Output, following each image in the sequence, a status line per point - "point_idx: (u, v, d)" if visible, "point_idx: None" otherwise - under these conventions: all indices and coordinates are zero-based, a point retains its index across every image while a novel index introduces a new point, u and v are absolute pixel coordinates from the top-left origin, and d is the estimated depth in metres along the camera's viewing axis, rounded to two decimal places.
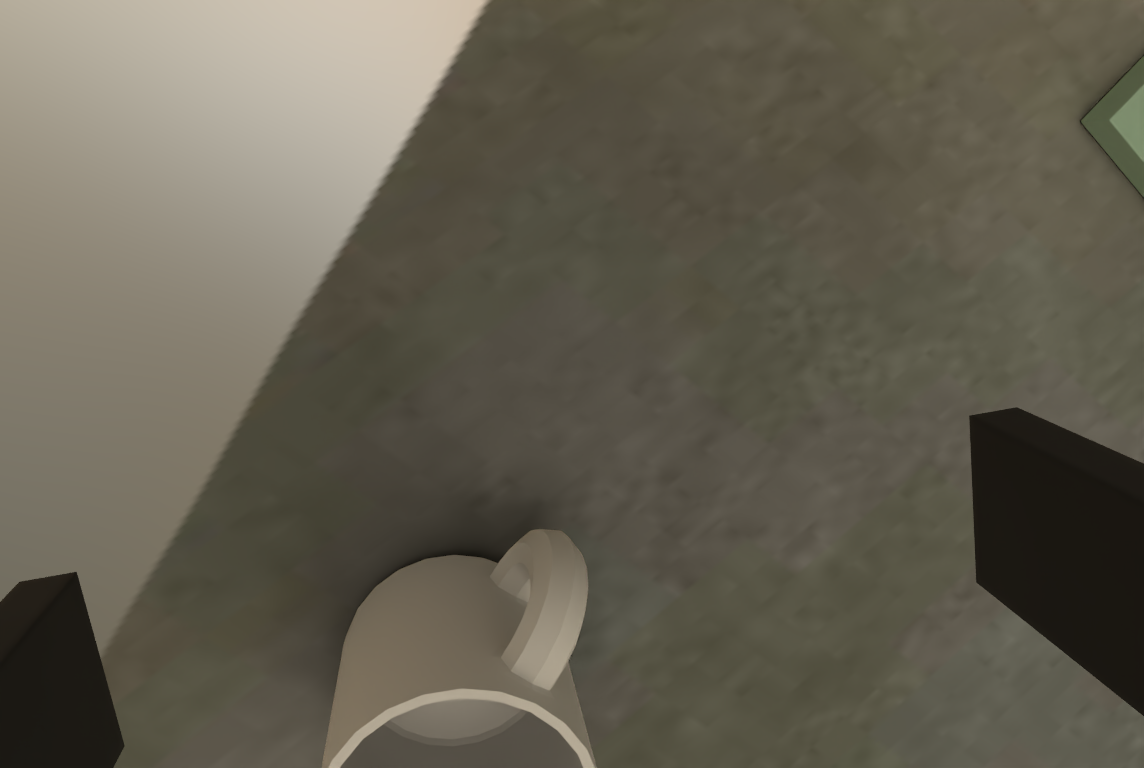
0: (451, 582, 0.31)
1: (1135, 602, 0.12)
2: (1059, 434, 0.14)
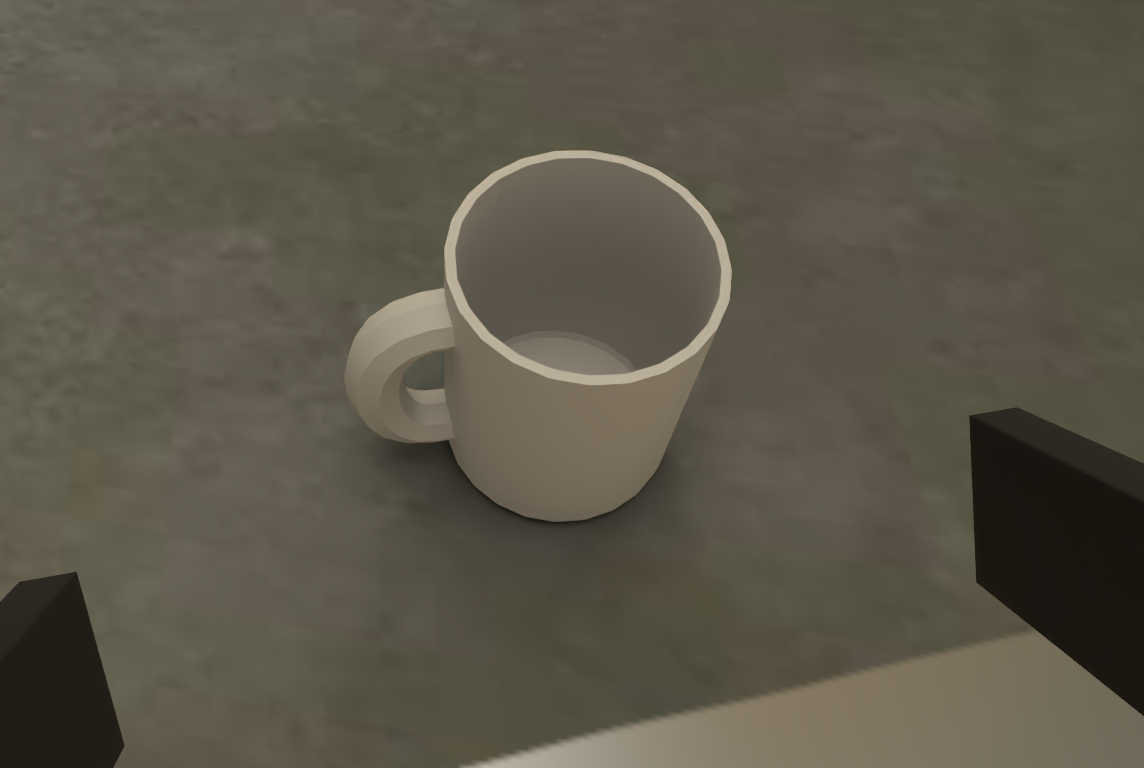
0: (478, 458, 0.29)
1: (1135, 602, 0.12)
2: (1059, 434, 0.14)
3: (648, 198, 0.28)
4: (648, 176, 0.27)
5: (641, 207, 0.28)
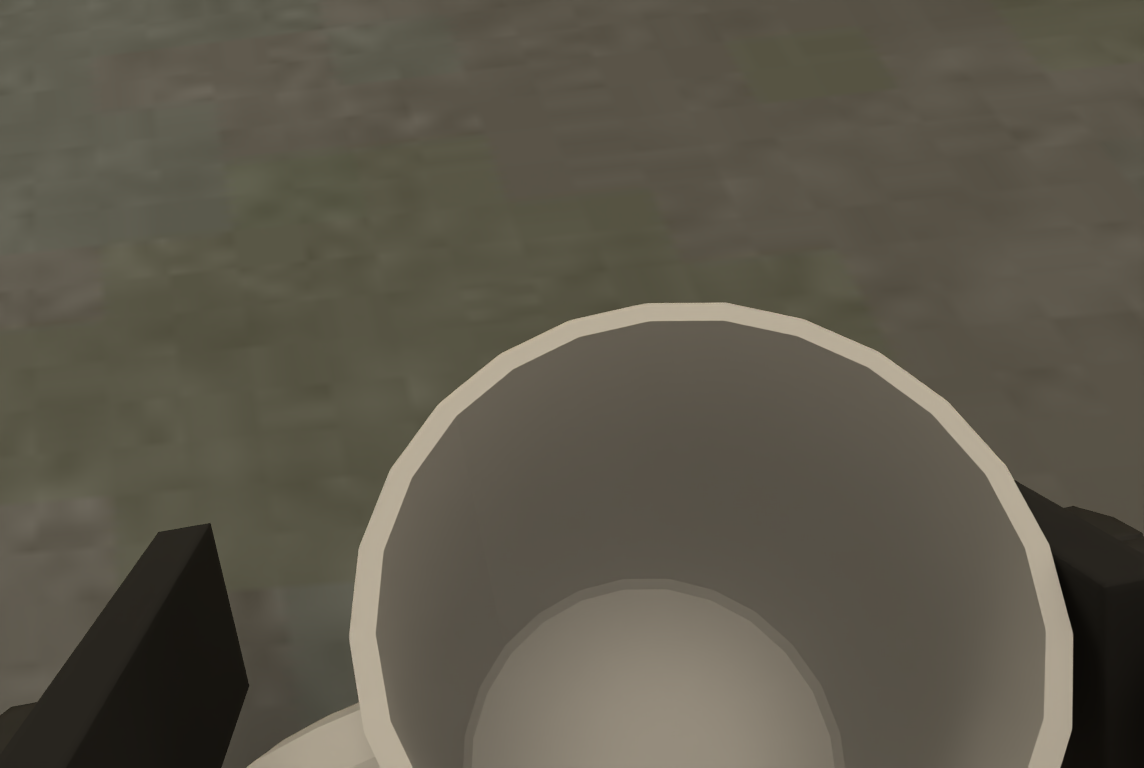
0: None
1: None
2: None
3: (789, 377, 0.13)
4: (786, 337, 0.12)
5: (771, 393, 0.13)
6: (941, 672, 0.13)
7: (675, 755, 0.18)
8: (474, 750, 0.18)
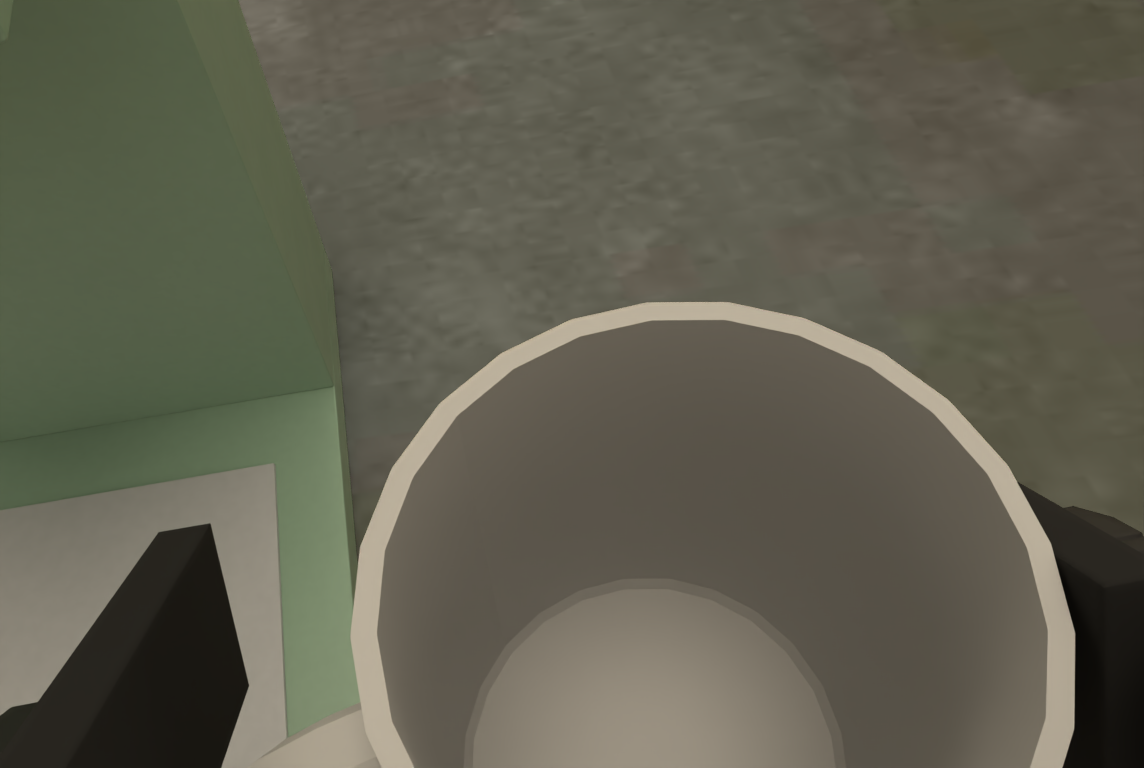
0: None
1: None
2: None
3: (790, 375, 0.13)
4: (787, 336, 0.12)
5: (773, 392, 0.13)
6: (942, 672, 0.13)
7: (675, 755, 0.18)
8: (474, 750, 0.18)
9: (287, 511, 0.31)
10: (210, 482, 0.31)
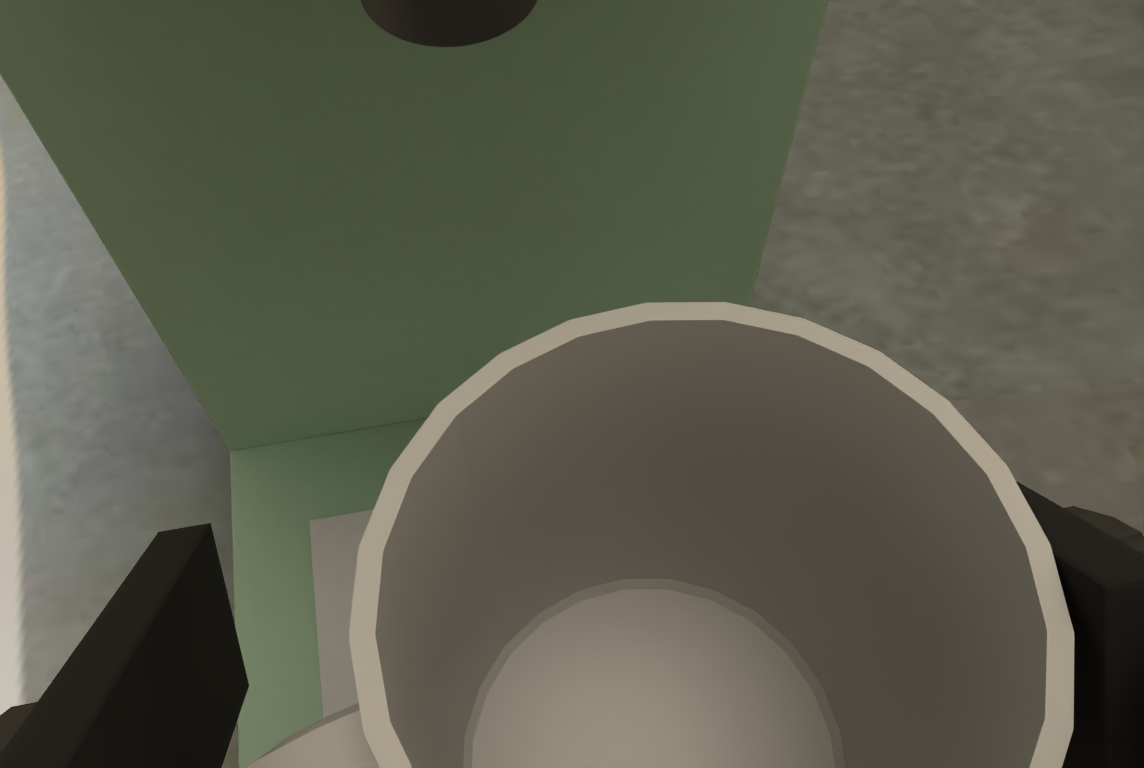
0: None
1: None
2: None
3: (789, 376, 0.13)
4: (786, 336, 0.12)
5: (772, 392, 0.13)
6: (942, 672, 0.13)
7: (675, 755, 0.18)
8: (473, 750, 0.18)
9: None
10: None
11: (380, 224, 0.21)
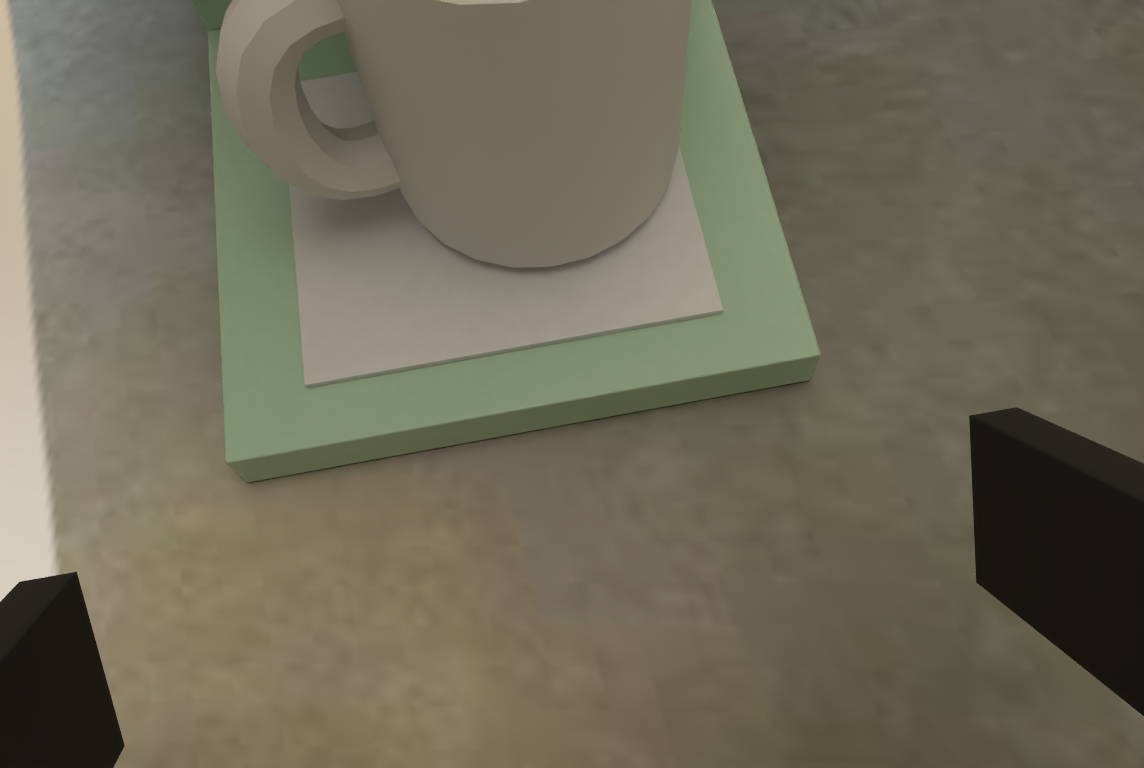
0: (430, 195, 0.23)
1: (1135, 602, 0.12)
2: (1059, 434, 0.14)
3: None
4: None
5: None
6: None
7: None
8: None
9: None
10: None
11: None
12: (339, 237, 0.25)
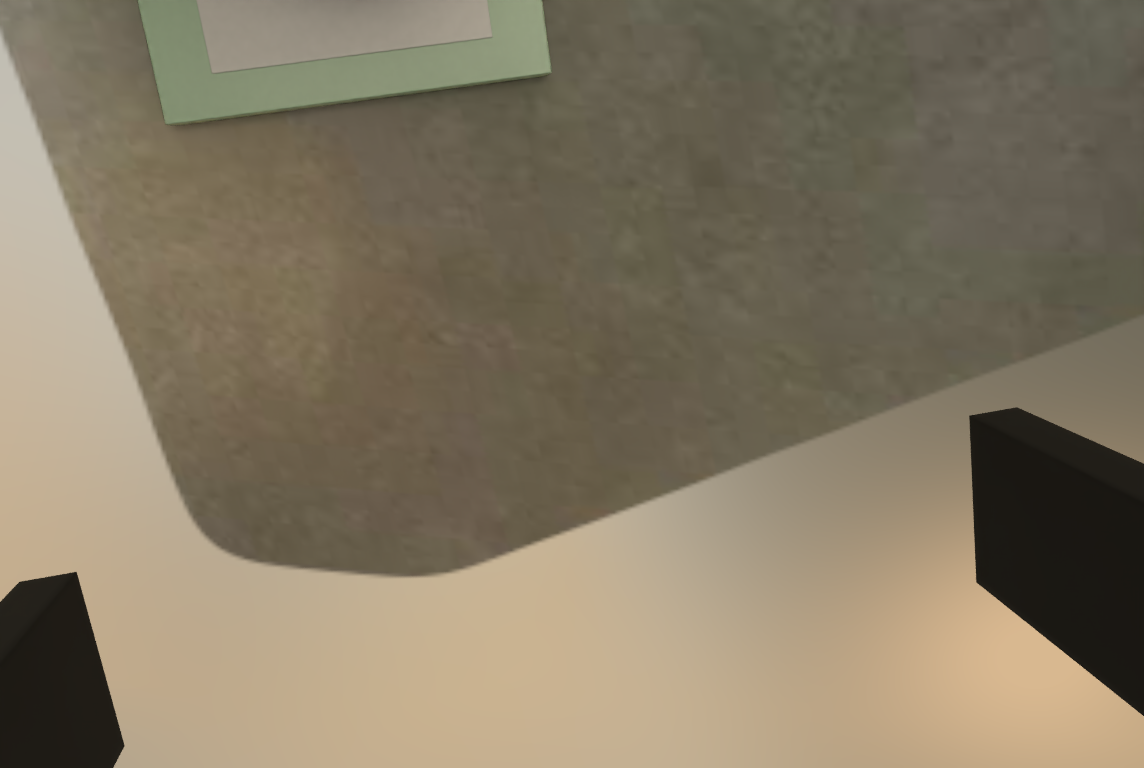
0: None
1: (1135, 602, 0.12)
2: (1059, 434, 0.14)
3: None
4: None
5: None
6: None
7: None
8: None
9: None
10: None
11: None
12: None
